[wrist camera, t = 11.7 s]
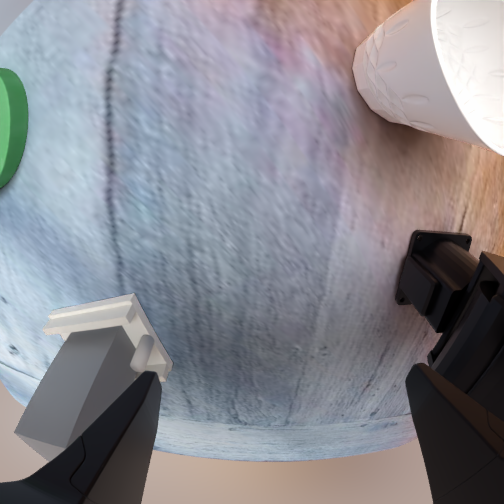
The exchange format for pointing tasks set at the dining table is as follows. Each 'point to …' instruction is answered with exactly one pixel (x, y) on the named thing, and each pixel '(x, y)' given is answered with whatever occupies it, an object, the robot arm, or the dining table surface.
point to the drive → (77, 389)
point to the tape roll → (11, 123)
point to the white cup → (439, 70)
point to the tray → (116, 314)
